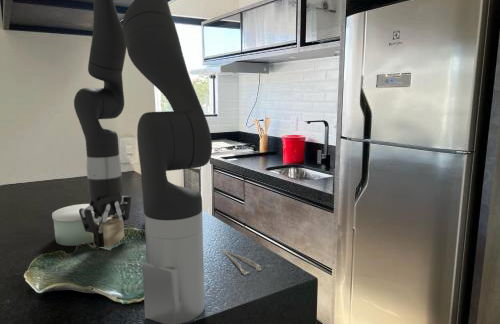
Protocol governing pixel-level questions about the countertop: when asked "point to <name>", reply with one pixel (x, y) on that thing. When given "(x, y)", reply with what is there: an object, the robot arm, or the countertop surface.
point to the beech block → (112, 231)
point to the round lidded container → (71, 226)
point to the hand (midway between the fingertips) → (109, 242)
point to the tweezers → (243, 261)
